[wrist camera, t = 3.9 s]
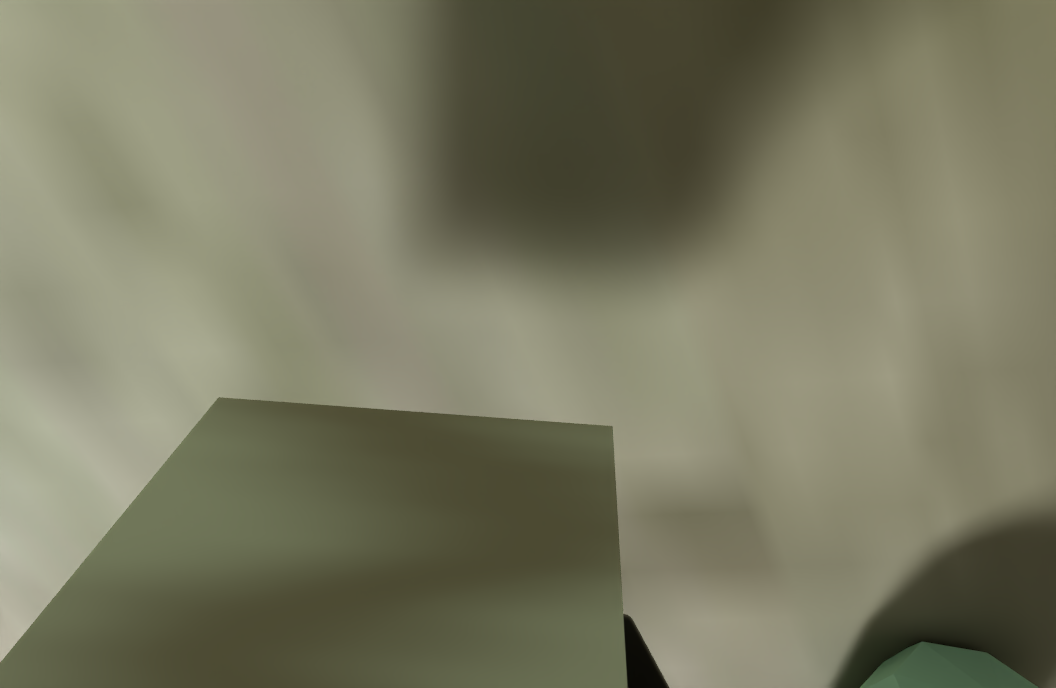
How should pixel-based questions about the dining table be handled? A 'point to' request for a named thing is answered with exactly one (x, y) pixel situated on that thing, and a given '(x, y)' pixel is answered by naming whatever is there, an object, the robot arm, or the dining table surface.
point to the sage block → (350, 560)
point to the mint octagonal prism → (944, 670)
